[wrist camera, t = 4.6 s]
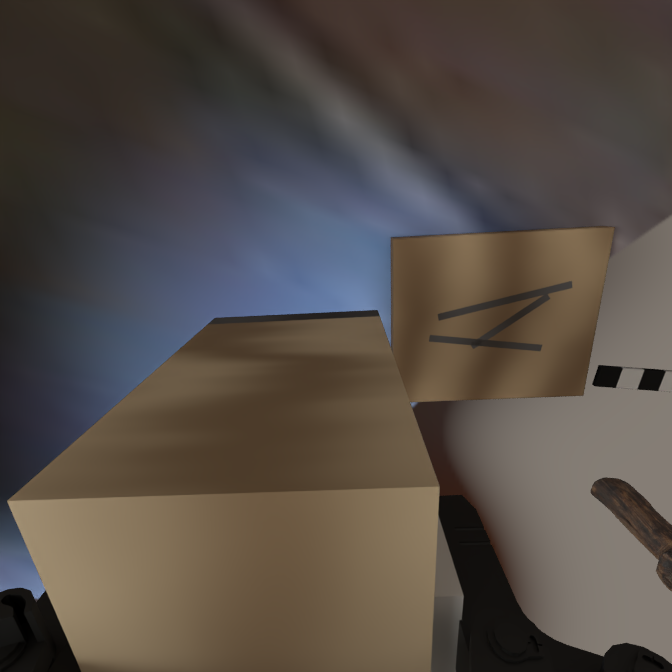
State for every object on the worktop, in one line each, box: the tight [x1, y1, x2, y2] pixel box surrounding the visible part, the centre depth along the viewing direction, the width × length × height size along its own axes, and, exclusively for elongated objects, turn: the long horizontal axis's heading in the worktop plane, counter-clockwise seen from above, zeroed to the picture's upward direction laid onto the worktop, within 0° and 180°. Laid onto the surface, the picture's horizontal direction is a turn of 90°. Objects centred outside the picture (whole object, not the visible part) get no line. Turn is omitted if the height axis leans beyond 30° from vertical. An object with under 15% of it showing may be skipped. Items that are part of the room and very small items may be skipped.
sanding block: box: [7, 310, 439, 672], centre depth 11 cm, size 6×9×9 cm, turn 3°
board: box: [391, 226, 615, 402], centre depth 26 cm, size 14×12×1 cm
